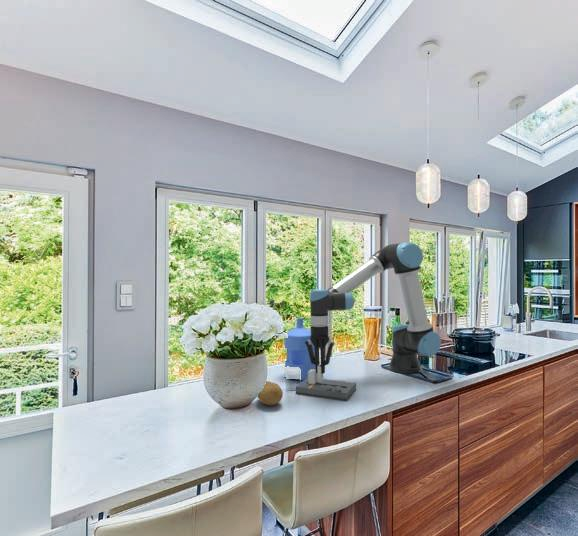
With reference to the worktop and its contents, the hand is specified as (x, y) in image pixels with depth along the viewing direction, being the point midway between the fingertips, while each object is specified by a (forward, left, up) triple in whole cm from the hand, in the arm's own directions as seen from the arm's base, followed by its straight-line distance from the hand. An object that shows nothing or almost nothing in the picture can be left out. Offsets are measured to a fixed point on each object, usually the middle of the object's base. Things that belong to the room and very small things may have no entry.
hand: (320, 380), depth 154 cm
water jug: (+16, -17, -5) cm, 24 cm away
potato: (+13, +21, -5) cm, 25 cm away
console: (-3, 0, -5) cm, 5 cm away
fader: (+3, 0, -3) cm, 5 cm away
